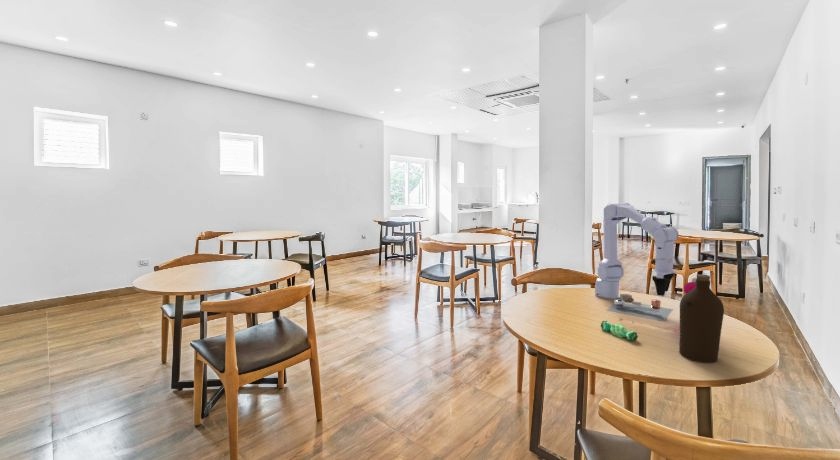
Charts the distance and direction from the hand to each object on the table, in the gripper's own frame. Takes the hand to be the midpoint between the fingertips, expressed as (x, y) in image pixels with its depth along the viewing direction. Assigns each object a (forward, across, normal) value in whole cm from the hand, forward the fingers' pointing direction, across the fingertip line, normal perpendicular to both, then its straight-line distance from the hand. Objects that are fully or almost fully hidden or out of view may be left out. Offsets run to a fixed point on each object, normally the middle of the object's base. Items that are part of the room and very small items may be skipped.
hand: (662, 293), depth 145 cm
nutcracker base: (+10, +2, +8) cm, 13 cm away
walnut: (+9, +6, +13) cm, 17 cm away
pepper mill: (+10, -12, -11) cm, 19 cm away
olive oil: (+10, -31, -15) cm, 36 cm away
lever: (+7, 0, +9) cm, 11 cm away
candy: (+10, -28, +8) cm, 31 cm away
